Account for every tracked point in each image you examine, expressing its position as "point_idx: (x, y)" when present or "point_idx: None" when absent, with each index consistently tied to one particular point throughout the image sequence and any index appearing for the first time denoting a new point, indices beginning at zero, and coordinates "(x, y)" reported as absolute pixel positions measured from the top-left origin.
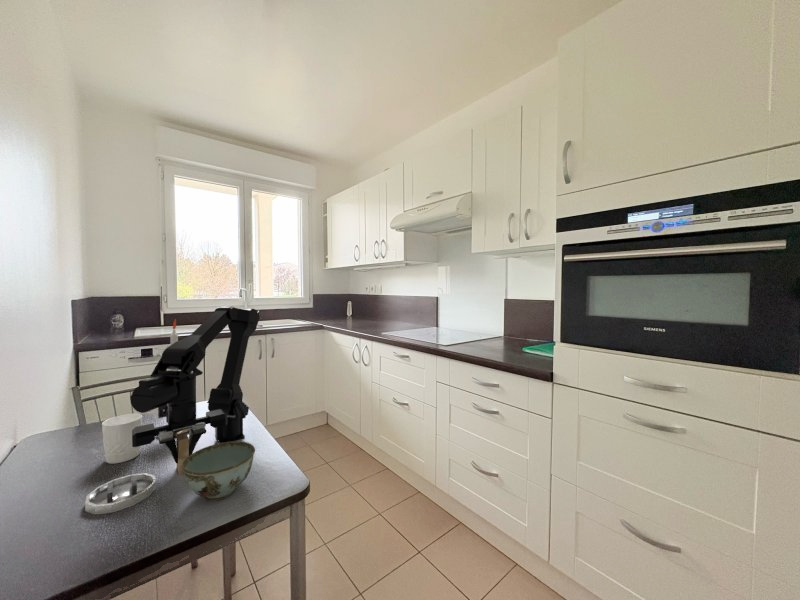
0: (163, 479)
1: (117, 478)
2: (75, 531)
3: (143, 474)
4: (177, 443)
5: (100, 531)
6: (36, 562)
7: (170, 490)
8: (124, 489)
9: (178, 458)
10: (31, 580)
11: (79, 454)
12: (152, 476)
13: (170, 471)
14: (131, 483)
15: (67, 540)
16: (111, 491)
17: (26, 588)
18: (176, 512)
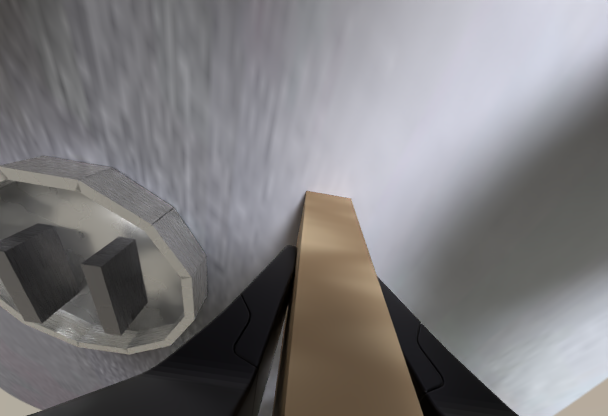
0: (236, 255)
1: (13, 169)
2: (37, 331)
3: (141, 228)
4: (280, 385)
5: (97, 363)
6: (9, 366)
7: None
8: (96, 244)
9: (285, 320)
10: (31, 395)
11: None
12: (182, 277)
13: (272, 210)
14: (113, 214)
15: (35, 347)
16: (35, 317)
17: (34, 403)
18: None
